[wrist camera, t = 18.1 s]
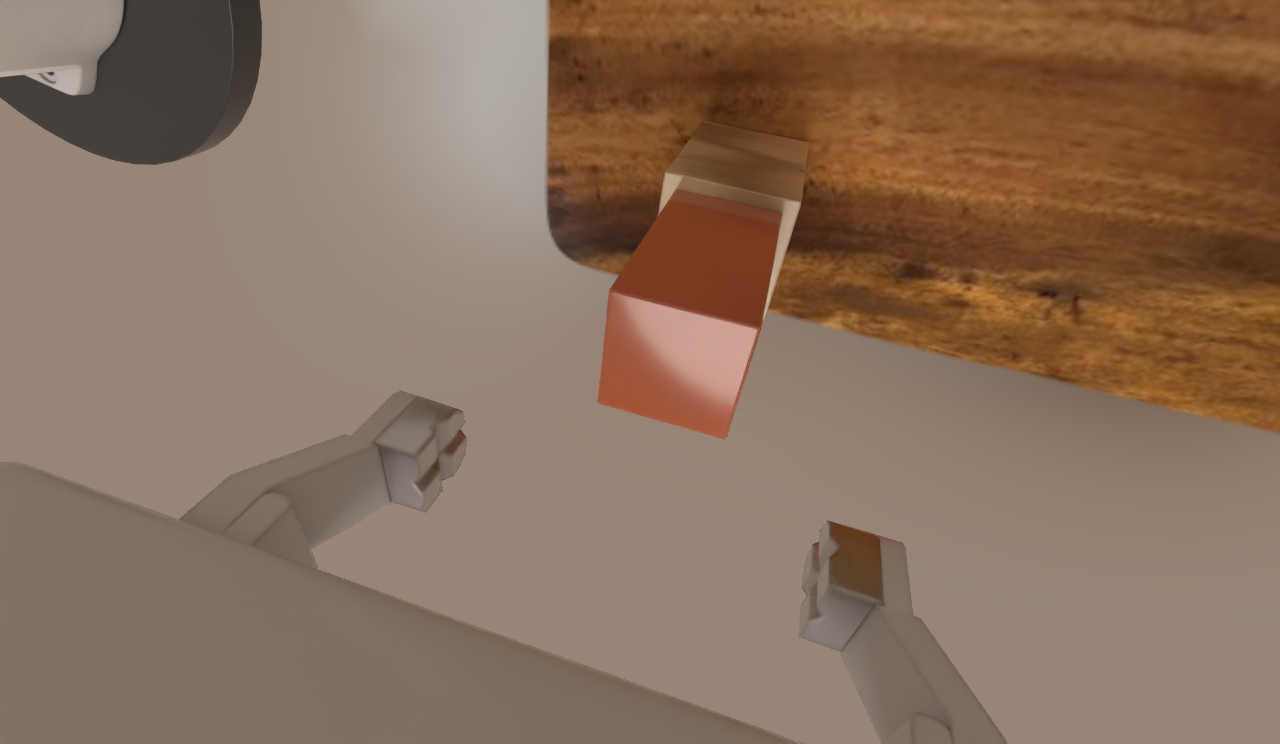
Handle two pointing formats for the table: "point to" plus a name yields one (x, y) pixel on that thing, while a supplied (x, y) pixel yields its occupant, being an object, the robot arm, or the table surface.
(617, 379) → the block
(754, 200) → the stand
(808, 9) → the table surface
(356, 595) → the robot arm
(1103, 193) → the table surface
